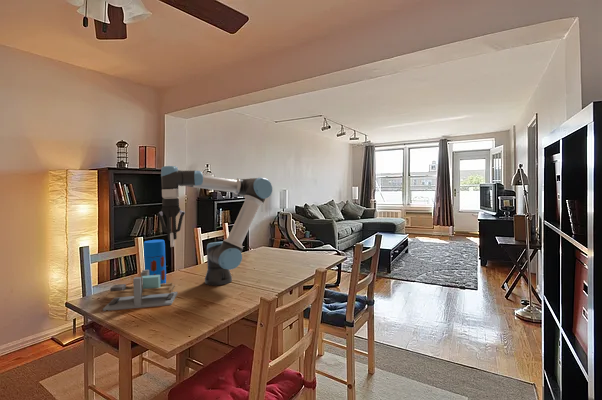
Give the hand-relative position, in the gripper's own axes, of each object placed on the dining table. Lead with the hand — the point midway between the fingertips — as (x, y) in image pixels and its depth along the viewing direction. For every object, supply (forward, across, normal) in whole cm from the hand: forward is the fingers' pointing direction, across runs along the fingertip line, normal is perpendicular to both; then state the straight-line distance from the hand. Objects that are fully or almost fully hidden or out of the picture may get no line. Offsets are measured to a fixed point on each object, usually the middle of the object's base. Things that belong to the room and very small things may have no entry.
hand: (172, 246), depth 157 cm
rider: (+20, +11, 0) cm, 23 cm away
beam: (+22, +15, 0) cm, 26 cm away
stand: (+26, +15, 0) cm, 30 cm away
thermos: (+26, +15, -27) cm, 40 cm away
